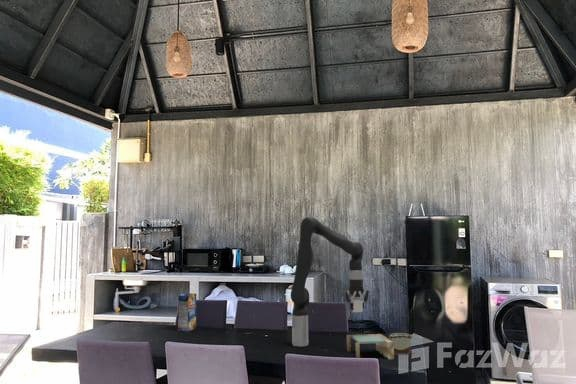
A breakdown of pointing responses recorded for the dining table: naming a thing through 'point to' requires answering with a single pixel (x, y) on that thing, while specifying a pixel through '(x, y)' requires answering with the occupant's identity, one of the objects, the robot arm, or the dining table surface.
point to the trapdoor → (368, 339)
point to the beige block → (357, 306)
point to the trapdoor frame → (383, 348)
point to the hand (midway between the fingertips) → (357, 309)
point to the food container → (401, 342)
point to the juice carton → (187, 312)
